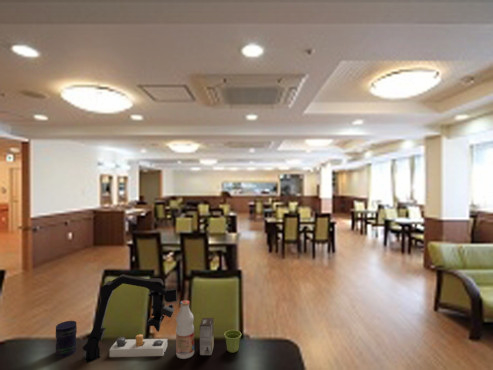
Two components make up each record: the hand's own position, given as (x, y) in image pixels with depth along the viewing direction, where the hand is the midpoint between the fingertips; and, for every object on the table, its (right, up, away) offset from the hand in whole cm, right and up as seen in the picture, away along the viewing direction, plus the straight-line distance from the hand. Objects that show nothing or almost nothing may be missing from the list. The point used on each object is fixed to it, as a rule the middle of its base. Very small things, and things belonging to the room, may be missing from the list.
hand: (158, 331), depth 163 cm
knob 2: (0, -9, 0) cm, 9 cm away
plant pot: (+41, -11, +1) cm, 42 cm away
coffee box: (+27, -11, 0) cm, 29 cm away
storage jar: (-50, -11, -1) cm, 51 cm away
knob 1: (-20, -7, -1) cm, 21 cm away
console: (-10, -11, 0) cm, 15 cm away
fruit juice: (+15, -11, -3) cm, 19 cm away
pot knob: (-10, -7, 0) cm, 12 cm away
